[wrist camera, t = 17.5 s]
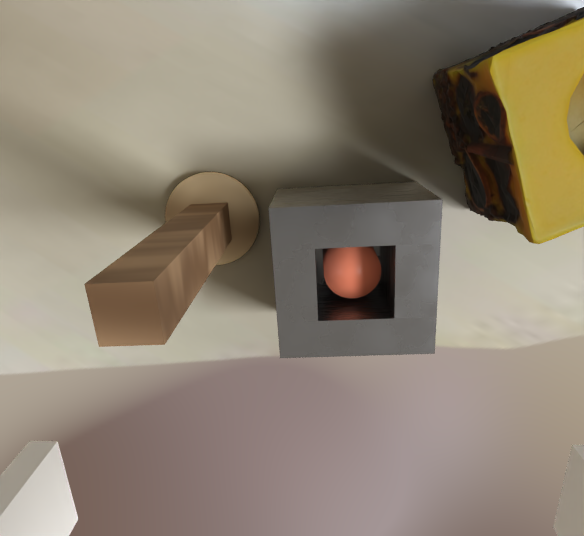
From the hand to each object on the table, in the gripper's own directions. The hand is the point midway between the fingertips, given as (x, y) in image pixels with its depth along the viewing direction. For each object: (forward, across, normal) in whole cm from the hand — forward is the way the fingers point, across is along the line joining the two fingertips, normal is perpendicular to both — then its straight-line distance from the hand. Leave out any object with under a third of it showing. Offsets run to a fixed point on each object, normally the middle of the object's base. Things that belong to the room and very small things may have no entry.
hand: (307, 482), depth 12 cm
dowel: (+23, -8, +1) cm, 24 cm away
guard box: (+24, +3, -1) cm, 24 cm away
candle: (+24, +14, +8) cm, 29 cm away
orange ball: (+23, +3, -1) cm, 23 cm away
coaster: (+24, -7, +2) cm, 25 cm away
